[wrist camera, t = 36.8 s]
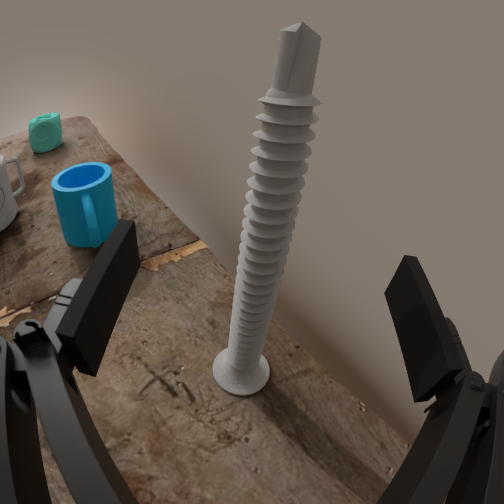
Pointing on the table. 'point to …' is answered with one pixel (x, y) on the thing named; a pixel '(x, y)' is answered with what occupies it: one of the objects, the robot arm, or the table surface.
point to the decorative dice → (45, 132)
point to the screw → (270, 208)
